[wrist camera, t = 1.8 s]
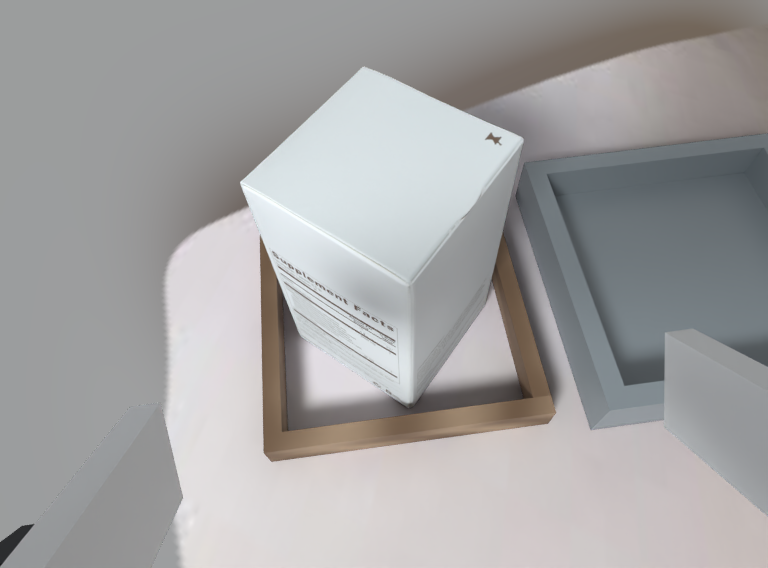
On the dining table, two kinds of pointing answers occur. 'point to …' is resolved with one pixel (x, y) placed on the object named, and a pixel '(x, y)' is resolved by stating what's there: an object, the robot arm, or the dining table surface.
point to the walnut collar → (405, 427)
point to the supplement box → (386, 227)
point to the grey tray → (650, 261)
